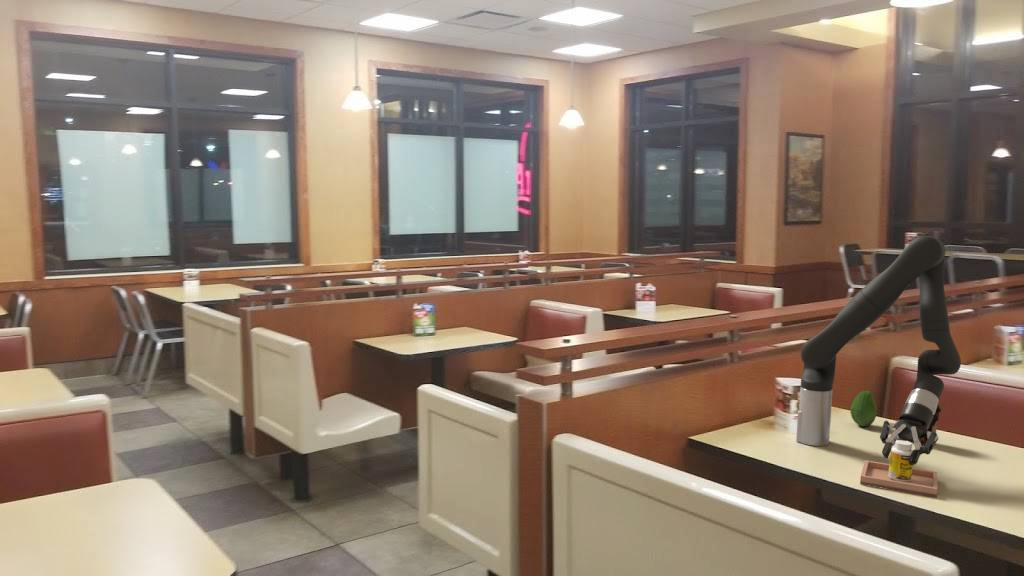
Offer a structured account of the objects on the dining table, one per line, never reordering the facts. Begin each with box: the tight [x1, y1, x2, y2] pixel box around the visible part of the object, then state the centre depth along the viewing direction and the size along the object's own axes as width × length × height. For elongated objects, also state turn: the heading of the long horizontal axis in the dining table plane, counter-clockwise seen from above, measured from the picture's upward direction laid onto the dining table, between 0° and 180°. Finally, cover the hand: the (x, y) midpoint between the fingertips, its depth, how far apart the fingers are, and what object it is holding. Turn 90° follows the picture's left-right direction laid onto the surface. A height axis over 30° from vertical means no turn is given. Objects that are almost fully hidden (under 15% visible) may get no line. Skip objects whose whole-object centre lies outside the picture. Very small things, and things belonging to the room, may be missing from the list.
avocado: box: [850, 390, 878, 427], centre depth 256 cm, size 8×8×12 cm
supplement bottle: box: [888, 440, 914, 482], centre depth 206 cm, size 6×6×10 cm
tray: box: [859, 459, 939, 498], centre depth 207 cm, size 18×14×2 cm
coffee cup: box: [912, 404, 942, 447], centre depth 238 cm, size 9×8×13 cm
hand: (898, 460), depth 205 cm, fingers open, 6 cm apart
